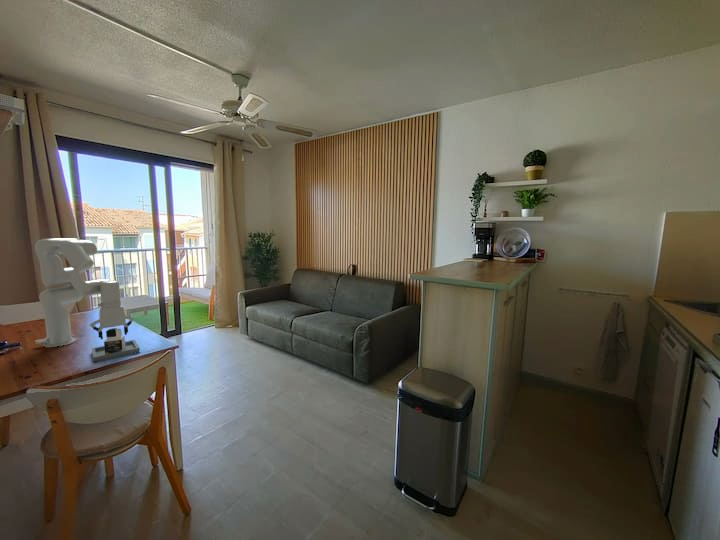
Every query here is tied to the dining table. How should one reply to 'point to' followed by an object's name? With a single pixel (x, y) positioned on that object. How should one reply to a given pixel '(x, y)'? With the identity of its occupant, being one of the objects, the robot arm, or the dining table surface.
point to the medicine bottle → (114, 341)
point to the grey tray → (100, 352)
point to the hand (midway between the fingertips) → (113, 336)
